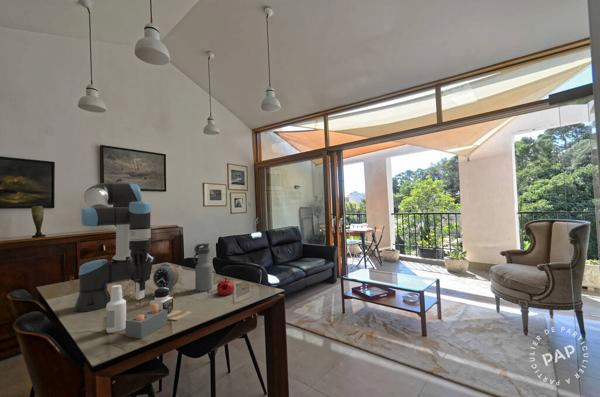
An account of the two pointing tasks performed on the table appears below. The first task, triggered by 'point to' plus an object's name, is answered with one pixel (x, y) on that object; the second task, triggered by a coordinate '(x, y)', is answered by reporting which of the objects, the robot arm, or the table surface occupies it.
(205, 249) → the water bottle
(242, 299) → the table surface
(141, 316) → the plunger
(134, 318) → the grey plunger block
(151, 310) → the plunger
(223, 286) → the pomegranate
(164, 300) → the medicine bottle
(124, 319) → the spray bottle
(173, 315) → the cork pad
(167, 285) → the alarm clock
